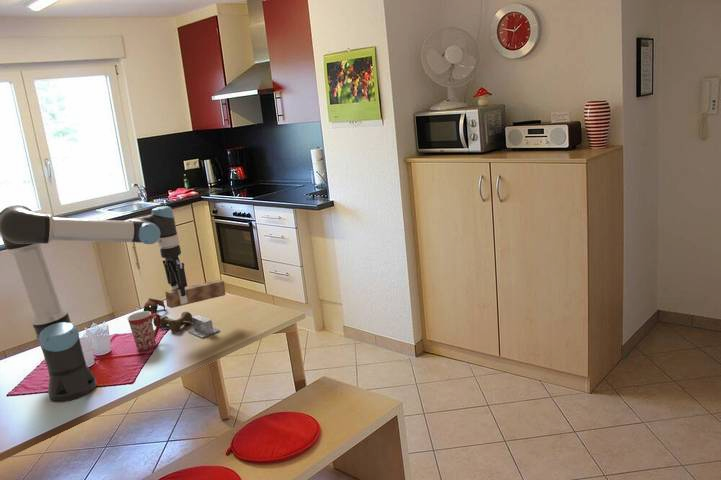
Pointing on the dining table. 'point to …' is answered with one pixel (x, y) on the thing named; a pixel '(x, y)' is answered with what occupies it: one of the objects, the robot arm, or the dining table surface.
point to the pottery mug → (153, 305)
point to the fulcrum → (202, 327)
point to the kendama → (174, 321)
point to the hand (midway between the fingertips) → (181, 302)
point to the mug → (144, 329)
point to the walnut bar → (196, 293)
